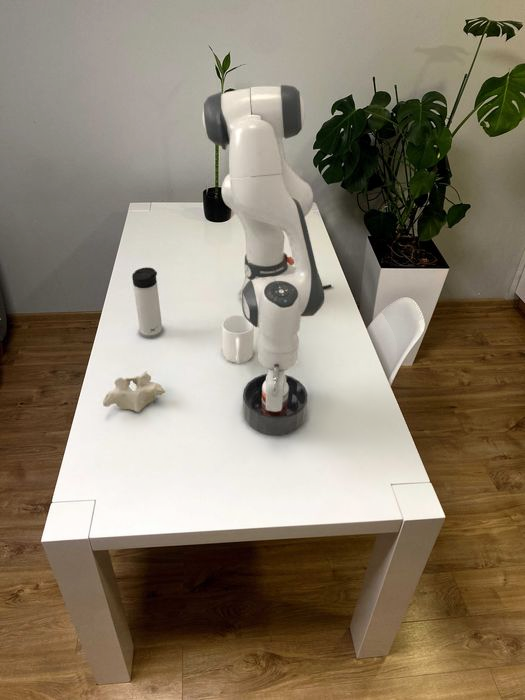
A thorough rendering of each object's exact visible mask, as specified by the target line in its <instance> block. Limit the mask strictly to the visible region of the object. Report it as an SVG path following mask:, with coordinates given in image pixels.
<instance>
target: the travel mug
mask: <svg viewBox="0 0 525 700" xmlns="http://www.w3.org/2000/svg"><path fill="white" fill-rule="evenodd" d="M157 276H158V272H157V271H156V269H154V268H153V267H141V268H138V269H136V270H135V271H134V272H133V273H132V275H131V278H132V286H133V294H134V299H135V300H134V301H135V308H136V313H137V319H138V326H139V333H140V335H141V336H142V337H144V338H147V339H155V338H157V337H159V336H160V335H162V333H163V324H162V315H161V313H162V312H161V306H160V305H161V304H160V297H159V287H158V280H157Z"/></svg>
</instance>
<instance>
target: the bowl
mask: <svg viewBox="0 0 525 700" xmlns="http://www.w3.org/2000/svg"><path fill="white" fill-rule="evenodd" d="M267 374H268V373H263V374H261V375H258V376H255V377H254V378H253V379H251V380H249V381H248V382H247V383H246V385H245V387H244V388H243V393H242V414H243V419H244V420H245V421H246V423H247V424H248V425H249V426H250V427H251V428H252V429H254V430H256V431H257V432H259V433H262V434H266V435H272V436H273V435H274V436H278V435H287V434H289V433H291V432H294V431H296V430H297V429H298V428H300V427H301V426H302V425H303V424H304V421H305V419H306V417H307V408H308V397H309V396H308V395H309V394H308V392H307V390H306V387H305V386H304V384H302V382H301V381H299V380H298V379H296V378H295V377H293V376H291V375H287V374H285V376H286V382H287V383H288V386H289V391H288V402H287V411H286V414H285V415H284V416H283V417H270V416H266V415H264V414H263V413H262V409H261V406H262V386H263V383H264V382H265V381H266V376H267Z"/></svg>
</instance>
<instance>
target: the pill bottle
mask: <svg viewBox="0 0 525 700" xmlns="http://www.w3.org/2000/svg"><path fill="white" fill-rule="evenodd" d="M266 374H267V376H268V373H266ZM267 376H266V381H265V382H264V383H263V386H262V406H261V409H262V413H263V414H264V415H266V416H270V417H283V416H284V415H285V414H286V411H287V402H288V391H289V386H288V383H287V382H286V376H284V390H283V404H282V410H281V411H277V412H272V411H268V410H266V407H265V405H266V387H267Z"/></svg>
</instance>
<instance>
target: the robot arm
mask: <svg viewBox="0 0 525 700" xmlns="http://www.w3.org/2000/svg"><path fill="white" fill-rule="evenodd" d="M300 93H301V92H300V90H298V88H296V87H295V86H293V85H289V84H288V85H287V84H281V85H280V86H274V85H271V86H269V85H261V86H251V87H248V88H241V89H236V90H231V91H227V92H224V93H222V92H221V91H220V92H217V93H214V94H212V95H209V96H207V98H206V100H205V101H204V103H203V109H202V114H201V120H202V126H203V130H204V132H205V133H206V136H207V138H208V140H209V141H210V142H212V144H214V145H216V146H219V147H221V148H222V150H224V151H226V150H227V147H228V172H229V173H227V174H226V176H225V178H223V181H222V183H221V192H220V193H221V197H222V200H223V202H224V204H225V205H226V206H227V207H228V208H230V210H231V211H232V212H233V213H234V214H235V215H236V217H237V218H238V220H239V222H240V223H241V226H242V228H243V231H244V235H245V236H244V237H245V249H246V250H245V255H244V281H243V285H242V289H241V292H240V299H241V307H242V312H243V316H245V318H246V319H247V320H248V321H249V322H250V323H251V324H252V325H254V328H257V329H258V330H259V335H258V339H257V360H258V361H259V363H260V364H261V365H262V366H263V367H265V368H266V369H267V374H268V376H267V387H266V405H265V407H266V410H268V411H272V412H277V411H281V410H282V404H283V390H284V376H285V375H286V374H285V373H286V371H287V370H289V369H291V368H292V367H293V366H294V365H296V363H297V361H298V355H299V344H300V338H299V331H300V329H301V321H302V320H301V319H302V318H303V317H313V316H315V314H317V313H318V312H319V311H320V309H321V308H322V306H323V305H324V303H325V296H326V295H325V290H326V289H330V288H332V284H326V285H324V286H323V283H322V280H321V277H320V274H319V270H318V267H317V263H316V259H315V254H314V250H313V246H312V242H311V237H310V233H309V229H308V225H307V222H306V218H305V217H306V216H307V215H309V213H310V212H311V210H312V207H313V204H314V193H313V189H312V187H311V186H310V184H309V183H307V182H306V181H305V180H303V179H302V178H301V177H300V176H298V175H297V173H296V172H294V170H293V169H292V168H291V165H290V164H289V163H288V161H287V158H286V155H285V150H284V143H283V139H290V138H293V137H296V136H297V135H299V133H300V132H301V131H302V130H303V129H302V128H303V125H304V122H305V118H306V107H305V102H304V99H303V97H302V95H301V94H300ZM285 235H286V237H287V240H288V244H289V248H290V252H291V255H292V256H288V254H287V253H286V252H285V238H286V237H285Z"/></svg>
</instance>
